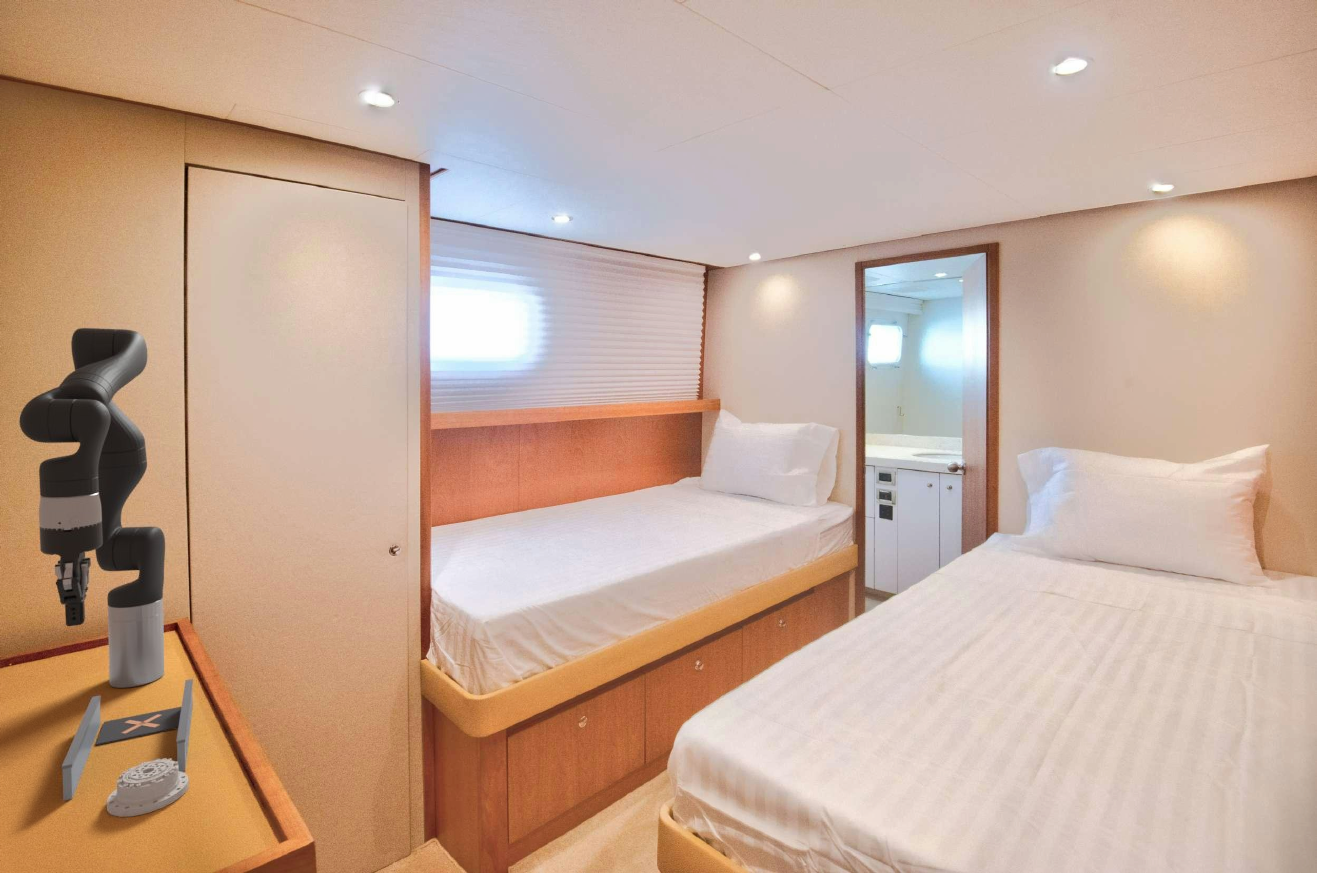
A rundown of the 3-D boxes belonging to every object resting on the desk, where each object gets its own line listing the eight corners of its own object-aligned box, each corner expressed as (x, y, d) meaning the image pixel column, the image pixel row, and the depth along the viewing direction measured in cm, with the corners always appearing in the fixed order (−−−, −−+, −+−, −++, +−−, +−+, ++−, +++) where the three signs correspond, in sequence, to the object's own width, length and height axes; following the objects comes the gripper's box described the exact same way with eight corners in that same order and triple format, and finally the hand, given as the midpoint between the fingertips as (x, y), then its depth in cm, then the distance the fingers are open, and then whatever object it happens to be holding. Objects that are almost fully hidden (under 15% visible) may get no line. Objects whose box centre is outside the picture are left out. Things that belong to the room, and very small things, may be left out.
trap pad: (104, 723, 120) (104, 721, 120) (183, 707, 127) (183, 705, 127) (95, 745, 113) (95, 743, 113) (180, 727, 119) (180, 725, 119)
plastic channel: (92, 725, 119) (92, 696, 119) (193, 705, 128) (193, 678, 127) (62, 801, 98) (61, 766, 97) (185, 771, 106) (185, 739, 106)
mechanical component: (88, 819, 94) (159, 818, 95) (88, 790, 94) (158, 789, 94) (139, 779, 104) (203, 778, 105) (138, 753, 104) (202, 752, 104)
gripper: (47, 515, 107) (52, 615, 109) (30, 532, 96) (35, 643, 98) (106, 511, 111) (110, 607, 113) (96, 527, 101) (100, 633, 102)
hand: (75, 623), depth 105 cm, fingers closed
